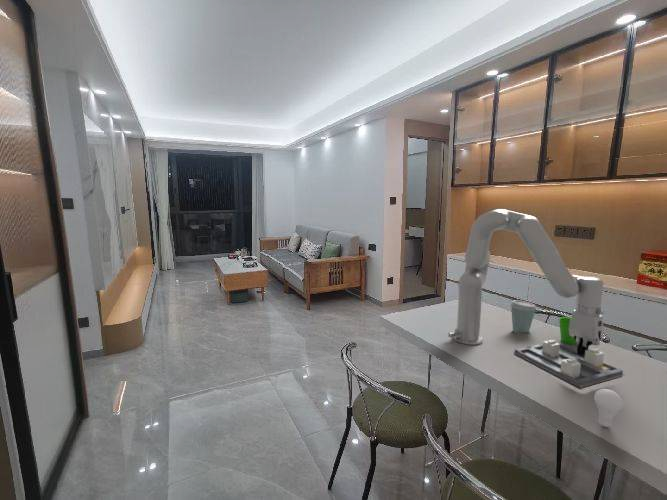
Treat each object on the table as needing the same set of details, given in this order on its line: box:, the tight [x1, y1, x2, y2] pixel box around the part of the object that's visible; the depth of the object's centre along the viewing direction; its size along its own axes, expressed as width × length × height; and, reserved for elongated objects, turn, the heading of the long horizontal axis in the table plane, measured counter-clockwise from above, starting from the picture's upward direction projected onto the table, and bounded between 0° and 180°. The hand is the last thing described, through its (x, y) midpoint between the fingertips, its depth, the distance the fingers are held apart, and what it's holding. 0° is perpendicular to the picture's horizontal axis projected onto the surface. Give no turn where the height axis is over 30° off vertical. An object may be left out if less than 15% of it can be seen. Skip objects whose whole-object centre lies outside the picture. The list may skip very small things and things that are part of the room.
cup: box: [558, 316, 578, 345], centre depth 145 cm, size 9×9×11 cm
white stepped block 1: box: [542, 339, 561, 357], centre depth 133 cm, size 4×4×6 cm
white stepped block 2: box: [560, 358, 581, 378], centre depth 118 cm, size 4×4×6 cm
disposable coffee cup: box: [510, 299, 537, 335], centre depth 158 cm, size 11×11×15 cm
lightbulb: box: [593, 388, 623, 428], centre depth 94 cm, size 6×6×11 cm
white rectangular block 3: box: [584, 348, 605, 366], centre depth 126 cm, size 4×4×6 cm
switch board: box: [513, 342, 624, 390], centre depth 128 cm, size 22×26×2 cm
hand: (581, 354), depth 130 cm, fingers closed
